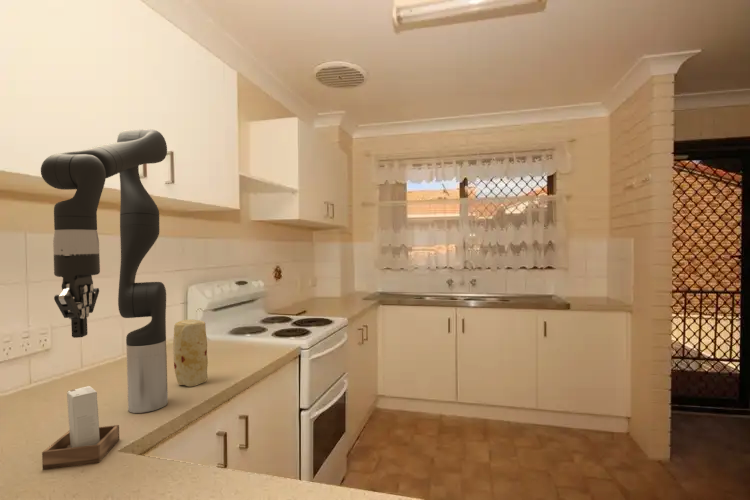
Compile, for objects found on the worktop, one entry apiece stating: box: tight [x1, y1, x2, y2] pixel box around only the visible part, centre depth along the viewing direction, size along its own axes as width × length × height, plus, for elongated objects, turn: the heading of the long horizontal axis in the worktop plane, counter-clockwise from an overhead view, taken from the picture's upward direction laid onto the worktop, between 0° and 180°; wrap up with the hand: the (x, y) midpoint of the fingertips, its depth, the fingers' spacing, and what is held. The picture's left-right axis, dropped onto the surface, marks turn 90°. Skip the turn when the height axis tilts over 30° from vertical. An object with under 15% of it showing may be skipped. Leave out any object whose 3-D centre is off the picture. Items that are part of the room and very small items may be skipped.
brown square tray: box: [41, 424, 120, 470], centre depth 82 cm, size 10×10×3 cm
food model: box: [172, 318, 209, 388], centre depth 123 cm, size 10×7×20 cm
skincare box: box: [66, 385, 100, 448], centre depth 82 cm, size 6×4×12 cm
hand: (79, 336), depth 81 cm, fingers closed
